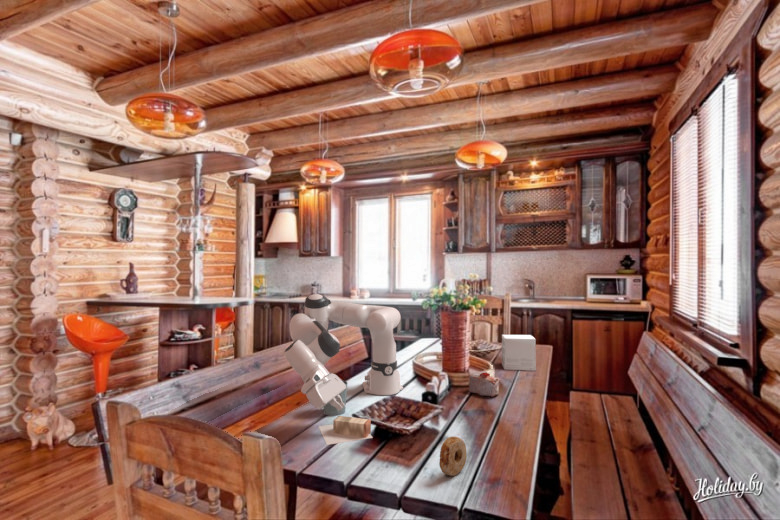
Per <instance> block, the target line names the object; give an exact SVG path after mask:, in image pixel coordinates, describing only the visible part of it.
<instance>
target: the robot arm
mask: <svg viewBox="0 0 780 520" xmlns="http://www.w3.org/2000/svg"><path fill="white" fill-rule="evenodd" d="M303 306H304V313H302V312H299V313H296V314H294V315H293V316H292V317H291V318H290V321H289V335H290V338H291V340H292V341H293V342H292V343H291V344H290V345H289V346H288V347H286V349H285V350H284V353H283V355H284V357H285V358H286V360H287V361H288V363H289V365H290V366H291V368H292V369H293V370H294V371H295V372H296V373H297V374H298V375H299V376H300V377H301V380H302V381H303V385H302V387H301V389H300V391H301V393H302V394H303V395H306V398H307V400H308V401H309V402H310V403H311V405H312V406H314V408H315V409H317V410H321V409H324V406H325V405H326V404H328V403H330V404H331V405H332V406H334V407H336V408H337V410H338V411H340V410H341V409H342V408H343V407H344V406H345V407H346V405H345V404H344V403H343V402H342V399H341V396H340V395H339V394H341V393H342V392H343V391H344V390H345V389H346V385H345V383H344V382H343V381H342V380H343V379H341V378H340V377H339V376H338V375H337V374H335V373H332V372H330V371H328V369H327V368H326V367H325V364H326V363H328V361H329V360H331V359H332V358H334V357H335V356H336V355H337V354H338V353H339V352H340V348H341V343H340V341H339V339H338V338H337V337H336V335H334V334H333V333H332V332H329V321H331V322H334V323H336V324H339V325H345V326H350V327H356V328H360V329H361V328H363V329H364V328H367V329H368V330H369V333H370V337H371V338H370V339H371V342H372V361H371V366H370V369H369V371H368V372H367V374H366V375H364V381H363V382H362V384H361V385H362V388H363V390H364V393H365V394H371V395H376V396H391V395H396V394H398V393H399V392H401V391H402V390H403V389H404V386H402V385H401V373H400V371H399V370H398V360H397V343H396V341H395V338H394V333H393V329H395V328H397V327H398V325H399V323H401V319H402V318H401V317H402V316H401V312H400V311H399V310H398V309H397V308H395V307H392V306H387V305H386V306H384V305H375V304H361V303H357V302H356V303H355V302H349V301H348V302H347V301H331V300H330V299H329V298H327V296H325V295H323V294H320V293H313V294H310V295H307V296H306V298H305V300H304V305H303Z"/></svg>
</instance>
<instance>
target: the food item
mask: <svg viewBox="0 0 780 520" xmlns="http://www.w3.org/2000/svg"><path fill="white" fill-rule="evenodd" d="M500 381H501V380H500V377H495V376H491V375H490V373H488V372H486V371H485V372H481V373H477V372H473V373H471V374H469V381H468V382H469V384H468V385H469V387H468V388H469V389H468V391H469V393H472V394H473V393H474V394H478V395H479V396H487V397H490V396H491V397H492V398H494V397H496V396H498V395H499V392H500V391H499V390H500V389H499V388H500Z"/></svg>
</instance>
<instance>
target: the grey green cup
mask: <svg viewBox="0 0 780 520" xmlns="http://www.w3.org/2000/svg"><path fill="white" fill-rule="evenodd" d="M341 380H342V381H343V382H344V383H345V385H346V389H345V390H344V391H343V392H342V393H341V394H339V395H340V396H341V399H342V402H343V403H344V404H345V406H344V407H343V408H342V409H341V410H340V411H338V410H337V408H336V407H334V406H332V405H331V404H330V403H328V404H326V405H325V406H324V407H323V414H324V415H326V416H329V417H336V416H337V417H338V416H343V414H345V413H346V404H347V392H348V391H347V390H348V381H346V380H343V379H341Z"/></svg>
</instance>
